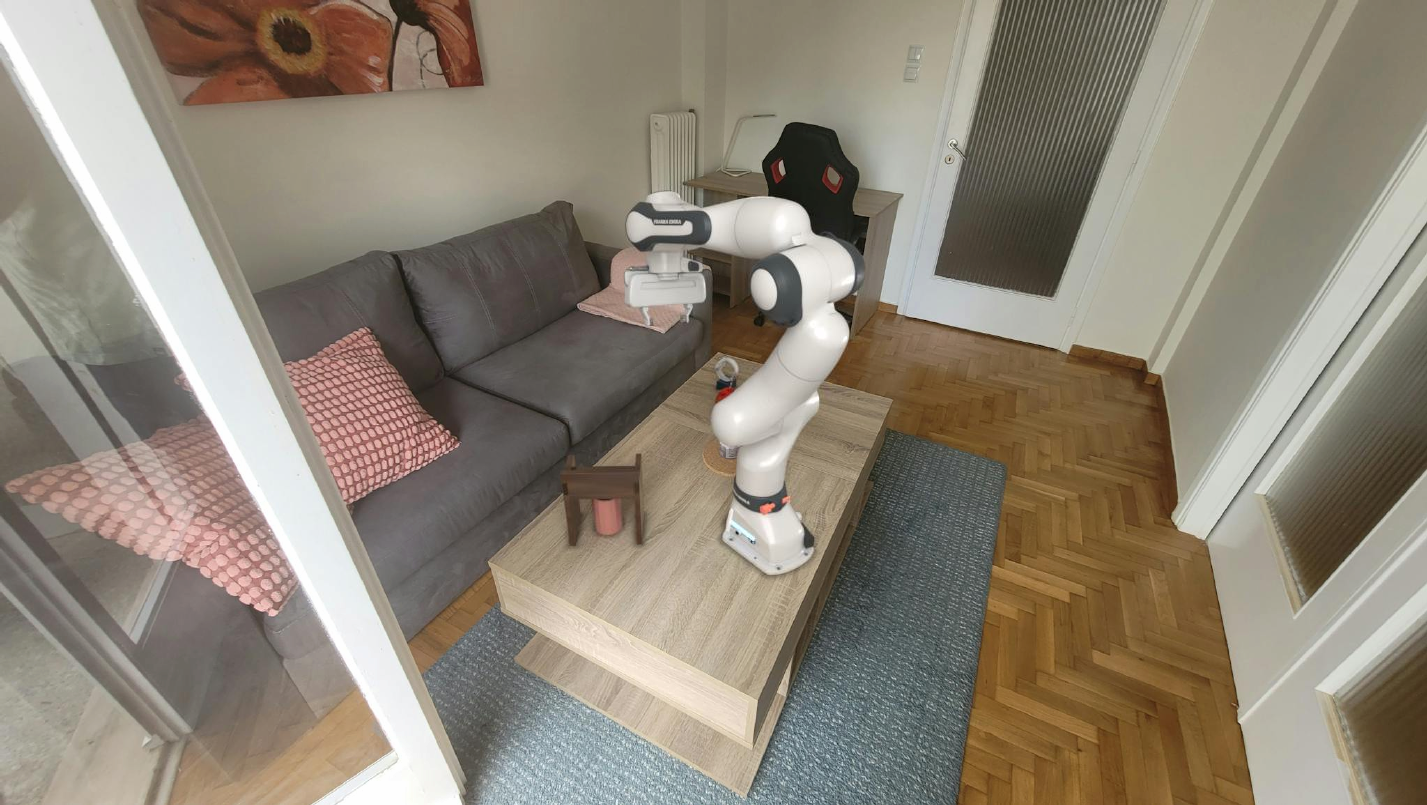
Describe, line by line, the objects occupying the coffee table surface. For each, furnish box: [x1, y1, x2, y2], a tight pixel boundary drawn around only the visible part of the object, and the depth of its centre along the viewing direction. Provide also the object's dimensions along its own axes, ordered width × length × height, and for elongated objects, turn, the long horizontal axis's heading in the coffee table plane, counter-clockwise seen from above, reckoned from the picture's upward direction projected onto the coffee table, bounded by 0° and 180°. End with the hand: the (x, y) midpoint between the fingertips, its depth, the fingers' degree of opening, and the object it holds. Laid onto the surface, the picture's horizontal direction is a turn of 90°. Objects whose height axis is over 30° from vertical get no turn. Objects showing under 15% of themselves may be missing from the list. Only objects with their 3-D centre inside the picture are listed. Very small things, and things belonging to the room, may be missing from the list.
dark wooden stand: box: [559, 453, 645, 547], centre depth 133 cm, size 10×16×21 cm, turn 93°
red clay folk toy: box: [713, 374, 739, 406], centre depth 179 cm, size 8×7×15 cm
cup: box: [591, 499, 624, 536], centre depth 137 cm, size 7×7×10 cm
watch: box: [714, 356, 740, 391], centre depth 194 cm, size 6×8×11 cm
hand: (667, 324), depth 140 cm, fingers open, 8 cm apart
